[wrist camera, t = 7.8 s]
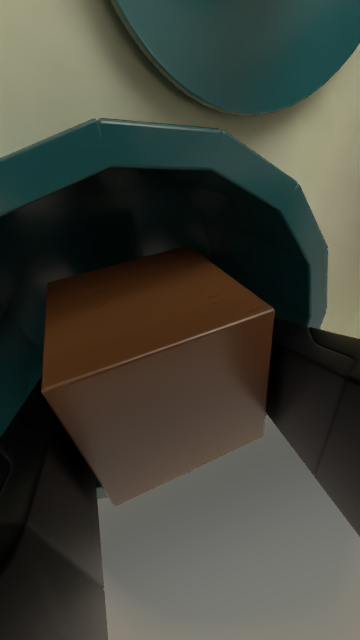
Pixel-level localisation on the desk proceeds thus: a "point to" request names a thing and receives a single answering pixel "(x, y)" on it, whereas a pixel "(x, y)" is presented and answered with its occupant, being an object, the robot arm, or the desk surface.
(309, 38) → the lid
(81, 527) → the robot arm
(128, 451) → the walnut block
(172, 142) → the pot
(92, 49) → the desk surface
